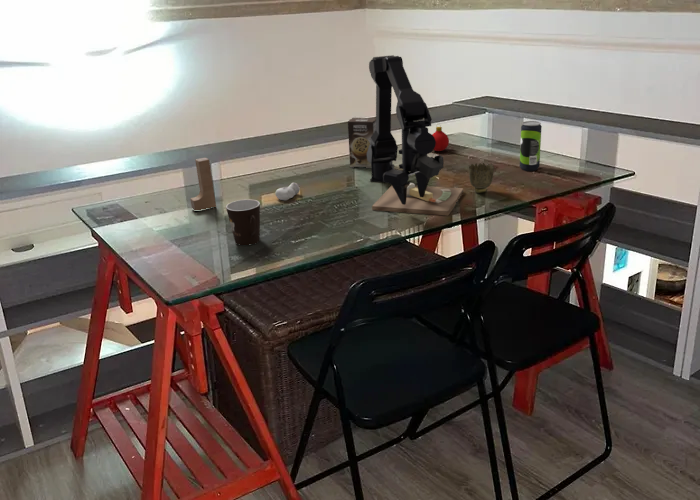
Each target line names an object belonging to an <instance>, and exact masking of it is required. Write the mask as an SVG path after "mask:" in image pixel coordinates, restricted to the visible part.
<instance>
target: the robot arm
mask: <svg viewBox="0 0 700 500" xmlns="http://www.w3.org/2000/svg"><path fill="white" fill-rule="evenodd" d="M368 69H369V73H370V77H371V79H372V80H373V83H374V84H375V118H376V130H375V132H374V133H373V135H372V136H371V140H370V145H369V148H368V151H367V161H368V162H370V163H371V168H370V169H371V178H370V179H369V182H375V183H377V182H378V183H386V184H390V185H391V186H392V187H393V188H394V190H395V192H396V193H397V195H398V197H399V199H400V201H401V203H402V204H403V205H405V204H406V197H407V187H408V186H409V184H410V183H411V182H410V181H409V180H410V179H409V178H410V176H413V175H414V176H415V181H416V186H417V187H418V192H419V195H420V197H424V194H425V191H426V188H427V186H428V184H429V182H430V180H431V179H432V178H434V177H435V176H437V177H438V175H439V174H440V171H442V169H444V156H442V155H440V154H438V155H435V156H429V154H430V153H432V152H433V151H434V150H433V149H434V148H435V145H436V141H435V138H434V136H433V135H432V134H433V133H430V132H429V128H428V127H432V123H431V122H432V116H431V113H430V111H429V108H428V106H427V103H426V102H425V101H424V99H423V97H422V96H421V94H420V93H419V92H416V91H415V90H414V89H413V86H412V84H411V82H410V80H409V77H408V74H407V72H406V70H405V68H404V62H403V58H402V56H399V55H394V54H393V55H383V56H373V58H372V59H371V60H370V61H369V62H368ZM392 91H394V95H395V97H396V99H397V103H396V108H395V112H396V113H395V115H396V118H397V121H398V123H399V125H400V128H401V149H399V146H398V145H397V144H398V143H397V140H396V139H395V137H394V136H393V134H392V131H391V130H392V96H393V95H392V93H393V92H392ZM398 154H399V155H401V163H399V164H398V169H397V168H396V169H395V164H393V162H396V161H397V158H398ZM373 157H374V158H373ZM400 169H402V170H400Z"/></svg>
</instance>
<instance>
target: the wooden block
mask: <svg viewBox="0 0 700 500" xmlns="http://www.w3.org/2000/svg"><path fill="white" fill-rule="evenodd" d="M194 162H195V167H196V173H197V181H198V186H199V193H198V194H197V195H196V196H195V197H194V196H193V197H190V199H189V200H190V205H191V209H192V208H193V209H194V210H201V209H206V208H211V207H216V208H217V203H216V197H215V189H214V183H213V177H212V170H211V164H210V163H211V161H210V159H209V158H208V157H199V158H196V159H195V161H194Z"/></svg>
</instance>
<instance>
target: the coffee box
mask: <svg viewBox="0 0 700 500" xmlns="http://www.w3.org/2000/svg"><path fill="white" fill-rule="evenodd" d="M375 130H376V117H375V118H374V117H352V118H351V119H348V121H347V133H348V153H349V155H348V156H349V167H350V168H354V167H366V168H365V169H371V163H370V162H368V161H367V151H368V148H369V145H370V140H371V136H372V135H373V133H374V132H375ZM373 158H374V157H373Z"/></svg>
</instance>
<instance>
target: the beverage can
mask: <svg viewBox="0 0 700 500" xmlns="http://www.w3.org/2000/svg"><path fill="white" fill-rule="evenodd" d="M521 124H522V125H521V127H520V148H519V153H520V154H519V168H520V169H521V170H522V171H524V172H525V171H526V172H533V171H537V170H538V169H539V168H540V162H541V144H542V143H541V141H542V125H541V124H542V122H541V121H537V120H528V121H522V123H521Z"/></svg>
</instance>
